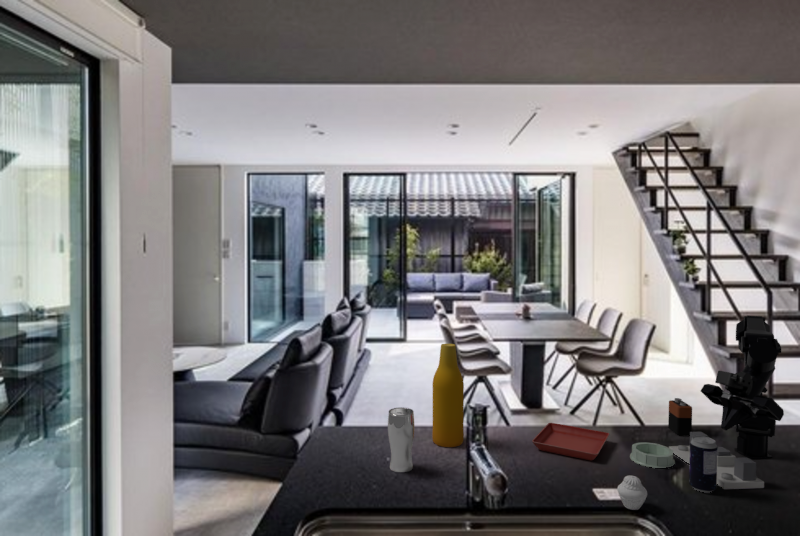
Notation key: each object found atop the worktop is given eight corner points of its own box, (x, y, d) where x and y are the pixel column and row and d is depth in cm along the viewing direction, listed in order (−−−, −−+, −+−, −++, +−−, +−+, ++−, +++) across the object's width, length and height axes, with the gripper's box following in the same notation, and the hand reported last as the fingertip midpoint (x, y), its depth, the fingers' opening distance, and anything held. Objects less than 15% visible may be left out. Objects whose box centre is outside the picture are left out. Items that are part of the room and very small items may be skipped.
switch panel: (669, 451, 149) (669, 431, 149) (703, 450, 150) (703, 430, 150) (724, 489, 126) (724, 465, 126) (764, 487, 127) (764, 464, 127)
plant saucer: (597, 466, 141) (597, 453, 141) (530, 452, 150) (531, 440, 150) (610, 443, 156) (610, 432, 156) (548, 432, 166) (549, 422, 165)
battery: (681, 428, 168) (682, 397, 167) (692, 436, 161) (693, 404, 161) (667, 428, 168) (668, 397, 168) (677, 436, 161) (678, 403, 161)
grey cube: (722, 458, 140) (722, 446, 140) (730, 463, 137) (730, 451, 137) (710, 458, 140) (710, 447, 140) (718, 463, 136) (718, 451, 136)
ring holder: (660, 451, 149) (660, 441, 149) (683, 468, 138) (684, 456, 138) (622, 452, 148) (622, 442, 148) (642, 469, 137) (643, 458, 137)
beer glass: (418, 464, 141) (418, 409, 140) (407, 475, 134) (407, 417, 134) (394, 460, 144) (394, 405, 143) (383, 470, 137) (383, 413, 137)
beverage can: (713, 485, 128) (714, 436, 128) (718, 496, 123) (720, 445, 122) (687, 482, 130) (688, 434, 130) (691, 492, 125) (692, 442, 124)
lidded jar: (629, 515, 114) (630, 483, 114) (611, 501, 120) (611, 471, 120) (653, 511, 116) (654, 479, 116) (634, 498, 122) (634, 468, 122)
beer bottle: (429, 446, 154) (429, 346, 152) (436, 435, 163) (436, 341, 161) (460, 449, 151) (460, 348, 150) (466, 438, 160) (466, 342, 159)
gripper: (703, 353, 140) (673, 401, 137) (770, 364, 123) (738, 419, 119) (728, 378, 143) (699, 426, 140) (798, 393, 125) (767, 448, 122)
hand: (723, 429), depth 130 cm, fingers closed
